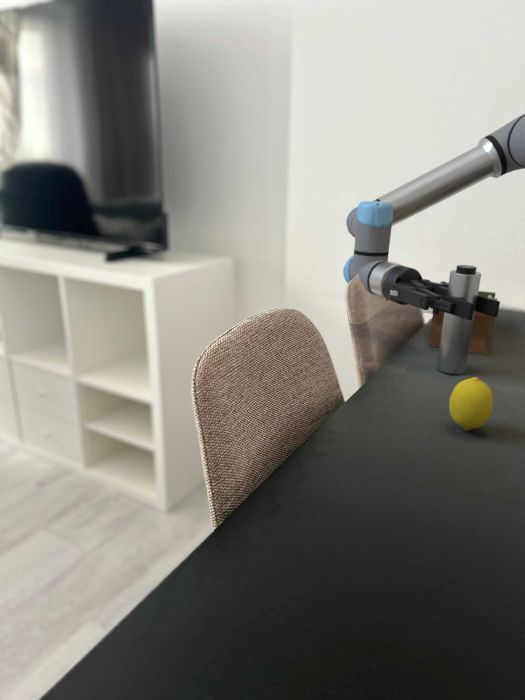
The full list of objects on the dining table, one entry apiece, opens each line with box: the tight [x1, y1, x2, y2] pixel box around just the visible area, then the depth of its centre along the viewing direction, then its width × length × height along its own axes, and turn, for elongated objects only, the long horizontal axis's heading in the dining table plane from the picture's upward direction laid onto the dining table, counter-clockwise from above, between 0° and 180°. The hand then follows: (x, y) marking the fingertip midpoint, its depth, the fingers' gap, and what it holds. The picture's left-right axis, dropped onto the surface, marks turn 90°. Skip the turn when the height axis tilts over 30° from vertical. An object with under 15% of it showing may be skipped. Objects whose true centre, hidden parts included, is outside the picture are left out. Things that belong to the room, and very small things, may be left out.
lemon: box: [448, 376, 494, 432], centre depth 71 cm, size 6×6×8 cm
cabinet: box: [428, 297, 499, 356], centre depth 110 cm, size 15×12×9 cm
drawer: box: [478, 290, 497, 298], centre depth 120 cm, size 15×10×7 cm
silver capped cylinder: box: [436, 264, 482, 375], centre depth 91 cm, size 5×5×19 cm
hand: (484, 310), depth 85 cm, fingers closed on silver capped cylinder, 5 cm apart
